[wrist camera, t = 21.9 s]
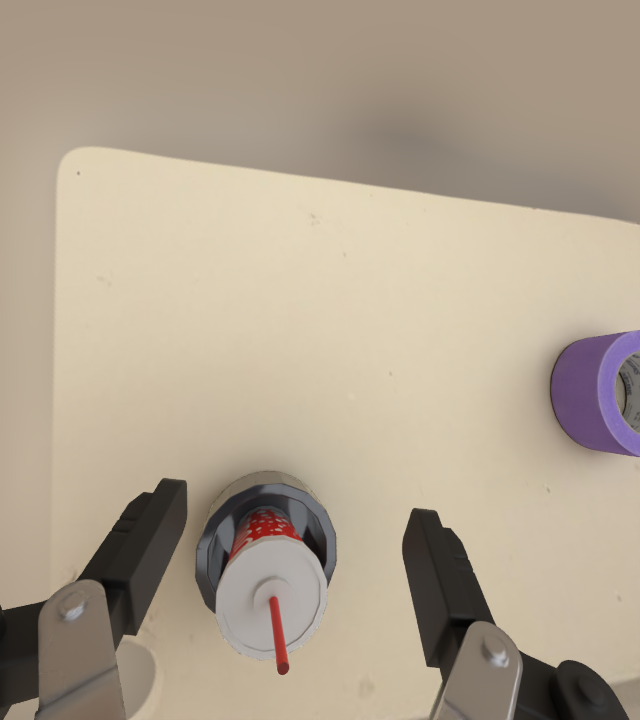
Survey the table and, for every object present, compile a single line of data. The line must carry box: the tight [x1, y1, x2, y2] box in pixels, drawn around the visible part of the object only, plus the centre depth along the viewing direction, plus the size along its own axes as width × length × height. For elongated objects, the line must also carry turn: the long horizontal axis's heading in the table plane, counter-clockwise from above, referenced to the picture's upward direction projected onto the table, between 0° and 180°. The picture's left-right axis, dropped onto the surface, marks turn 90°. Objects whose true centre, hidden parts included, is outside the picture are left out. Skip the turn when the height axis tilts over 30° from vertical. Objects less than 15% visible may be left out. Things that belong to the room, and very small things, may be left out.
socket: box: [195, 471, 337, 614], centre depth 26 cm, size 10×10×4 cm
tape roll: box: [551, 330, 640, 457], centre depth 34 cm, size 12×12×5 cm
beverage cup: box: [215, 506, 327, 675], centre depth 21 cm, size 6×6×14 cm
